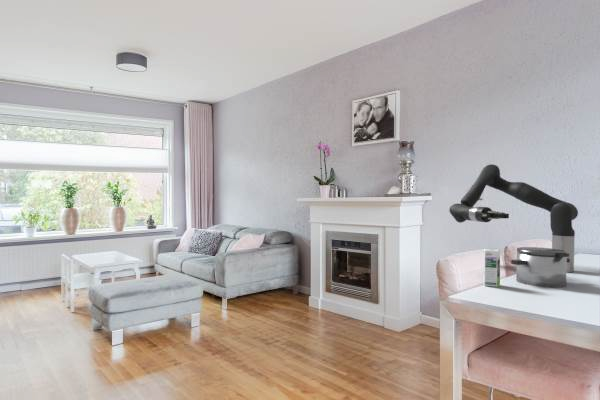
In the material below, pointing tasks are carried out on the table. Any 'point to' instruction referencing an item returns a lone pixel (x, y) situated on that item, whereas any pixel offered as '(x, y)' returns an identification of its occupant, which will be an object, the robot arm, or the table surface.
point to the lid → (542, 251)
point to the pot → (541, 270)
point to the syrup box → (492, 267)
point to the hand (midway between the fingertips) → (507, 216)
